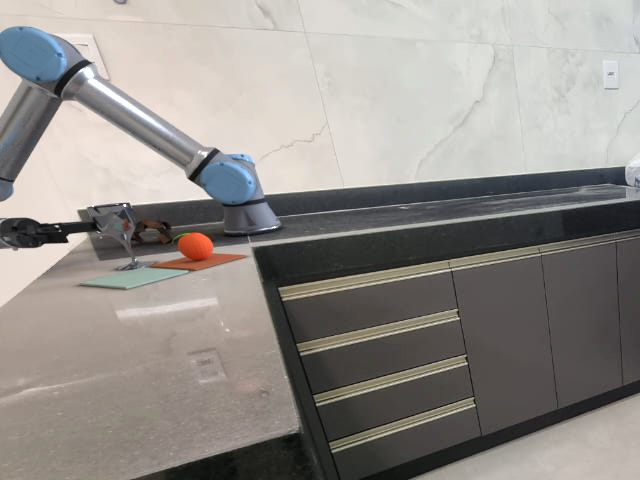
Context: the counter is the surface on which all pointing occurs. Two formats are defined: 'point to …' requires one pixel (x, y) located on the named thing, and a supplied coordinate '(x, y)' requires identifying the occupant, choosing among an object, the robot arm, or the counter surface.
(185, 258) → the fruit mat
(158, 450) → the counter surface
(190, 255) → the clementine
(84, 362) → the counter surface
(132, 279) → the glass mat
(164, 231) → the brown segmented ring
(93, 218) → the wine glass
